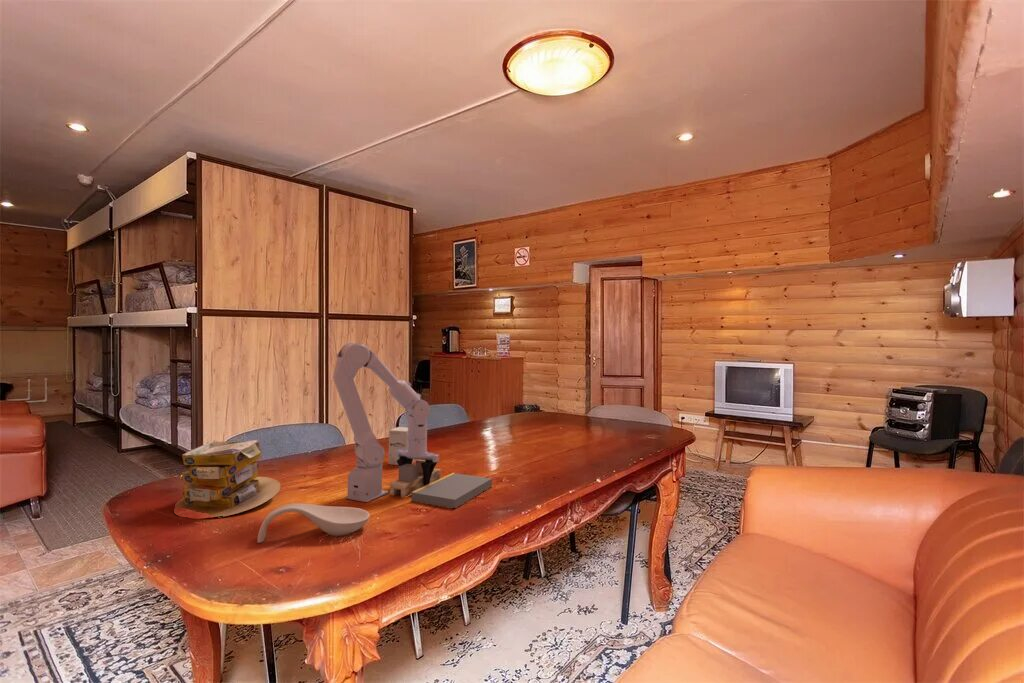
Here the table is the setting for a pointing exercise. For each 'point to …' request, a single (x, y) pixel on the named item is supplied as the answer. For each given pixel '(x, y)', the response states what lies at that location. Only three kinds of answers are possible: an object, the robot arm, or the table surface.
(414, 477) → the grey cube
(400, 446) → the supplement box
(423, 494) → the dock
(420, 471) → the salmon pink cube
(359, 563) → the table surface
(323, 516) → the spoon rest
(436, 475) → the tan piece
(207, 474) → the stacked yellow boxes
